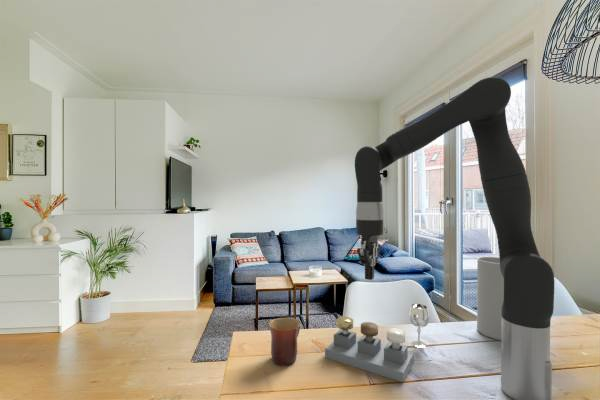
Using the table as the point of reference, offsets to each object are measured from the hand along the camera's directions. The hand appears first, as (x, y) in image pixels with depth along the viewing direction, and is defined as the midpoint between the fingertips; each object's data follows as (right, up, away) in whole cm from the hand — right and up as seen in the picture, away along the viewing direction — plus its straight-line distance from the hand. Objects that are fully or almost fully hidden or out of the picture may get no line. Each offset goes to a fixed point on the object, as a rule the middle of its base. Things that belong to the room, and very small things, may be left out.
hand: (369, 278), depth 87 cm
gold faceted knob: (-6, -19, +4) cm, 21 cm away
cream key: (+6, -19, -4) cm, 21 cm away
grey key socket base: (0, -23, 0) cm, 23 cm away
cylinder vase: (+48, -23, +17) cm, 56 cm away
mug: (-23, -23, +1) cm, 33 cm away
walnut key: (0, -19, 0) cm, 19 cm away
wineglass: (+18, -23, +9) cm, 30 cm away
